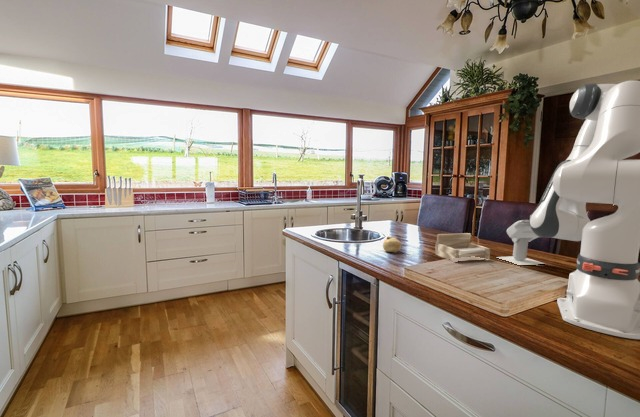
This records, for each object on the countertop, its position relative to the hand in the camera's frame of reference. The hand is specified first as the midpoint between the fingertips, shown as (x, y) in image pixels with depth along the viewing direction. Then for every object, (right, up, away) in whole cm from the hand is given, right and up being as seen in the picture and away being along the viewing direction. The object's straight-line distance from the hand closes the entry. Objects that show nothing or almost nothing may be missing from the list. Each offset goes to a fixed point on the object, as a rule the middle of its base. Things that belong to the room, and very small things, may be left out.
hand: (520, 240), depth 133 cm
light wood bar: (-20, -8, +2) cm, 22 cm away
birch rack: (-21, -8, +6) cm, 23 cm away
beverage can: (0, -7, +1) cm, 7 cm away
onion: (-49, -7, +14) cm, 51 cm away
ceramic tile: (0, -9, 0) cm, 9 cm away
